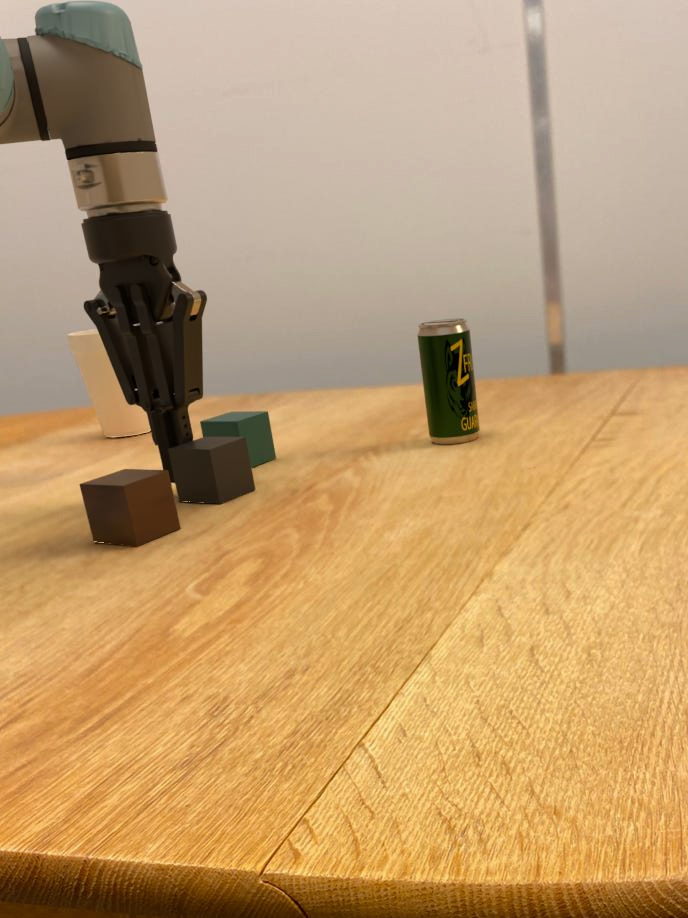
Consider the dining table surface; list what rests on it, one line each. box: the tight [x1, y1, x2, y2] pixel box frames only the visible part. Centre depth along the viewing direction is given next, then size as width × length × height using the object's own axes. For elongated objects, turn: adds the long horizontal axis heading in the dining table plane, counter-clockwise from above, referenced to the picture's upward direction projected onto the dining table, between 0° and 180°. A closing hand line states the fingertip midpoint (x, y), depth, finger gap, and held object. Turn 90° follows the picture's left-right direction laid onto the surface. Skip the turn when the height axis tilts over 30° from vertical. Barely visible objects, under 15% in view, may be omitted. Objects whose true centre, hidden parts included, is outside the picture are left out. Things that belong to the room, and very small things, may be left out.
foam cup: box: [66, 324, 151, 436], centre depth 135 cm, size 10×9×13 cm
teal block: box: [199, 410, 277, 468], centre depth 111 cm, size 5×5×5 cm
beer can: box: [416, 318, 481, 445], centre depth 110 cm, size 5×5×12 cm
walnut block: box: [78, 468, 181, 547], centre depth 87 cm, size 5×5×5 cm
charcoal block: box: [168, 436, 256, 505], centre depth 98 cm, size 5×5×5 cm
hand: (181, 478), depth 100 cm, fingers closed
